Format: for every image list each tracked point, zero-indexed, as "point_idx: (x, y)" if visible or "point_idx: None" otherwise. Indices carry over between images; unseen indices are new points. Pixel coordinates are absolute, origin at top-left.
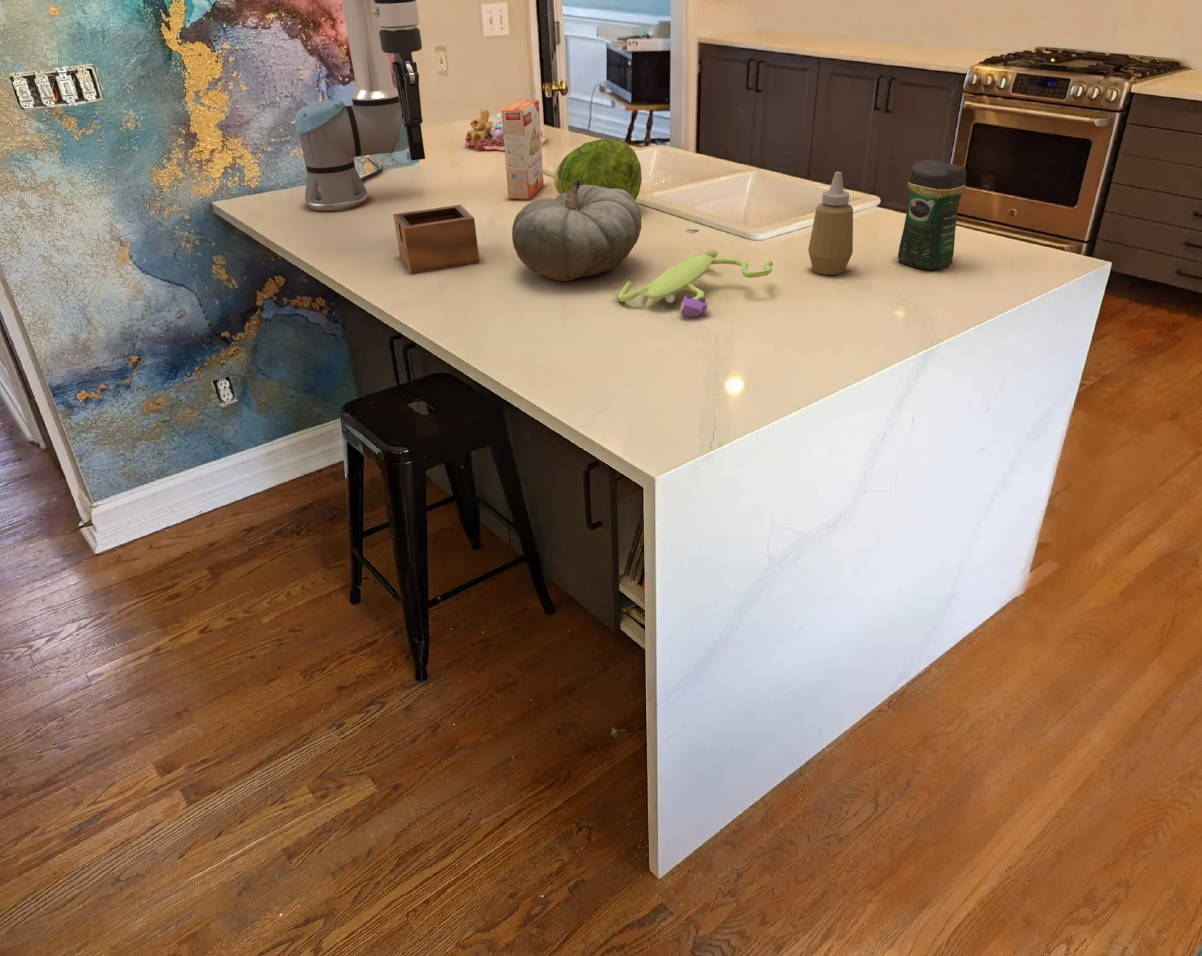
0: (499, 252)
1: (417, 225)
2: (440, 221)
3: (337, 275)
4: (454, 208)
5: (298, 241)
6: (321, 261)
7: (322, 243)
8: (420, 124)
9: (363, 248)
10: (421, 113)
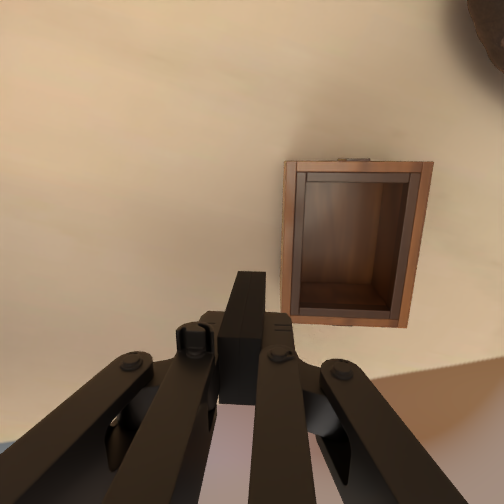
0: (354, 104)
1: (403, 298)
2: (407, 245)
3: None
4: (305, 183)
5: None
6: None
7: None
8: (290, 348)
9: None
10: (391, 407)
